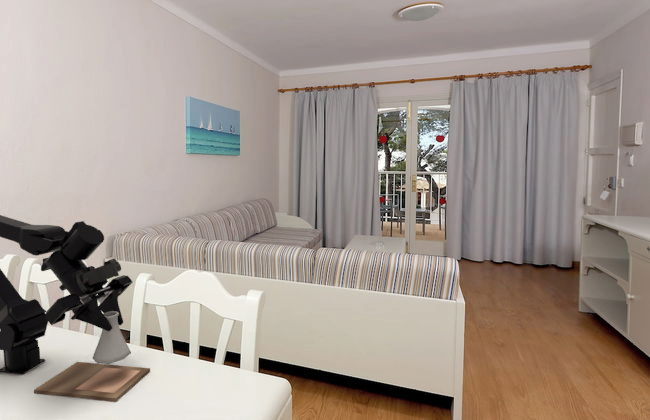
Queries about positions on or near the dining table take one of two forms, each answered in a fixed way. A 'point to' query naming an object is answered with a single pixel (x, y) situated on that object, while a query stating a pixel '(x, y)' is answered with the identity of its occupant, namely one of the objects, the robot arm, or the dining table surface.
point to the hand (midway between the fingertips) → (116, 327)
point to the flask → (111, 342)
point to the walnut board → (93, 381)
